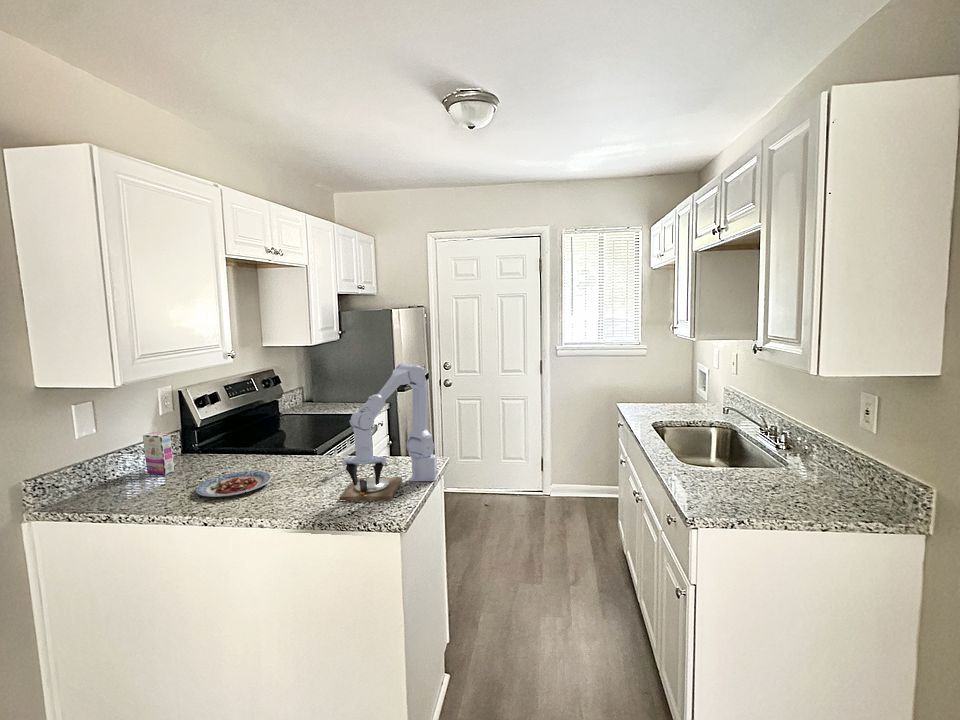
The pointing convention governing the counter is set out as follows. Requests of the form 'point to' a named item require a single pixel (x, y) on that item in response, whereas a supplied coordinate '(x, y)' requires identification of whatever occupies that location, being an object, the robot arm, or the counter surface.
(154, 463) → the candy bar box
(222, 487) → the ceramic plate
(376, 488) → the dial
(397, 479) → the dial board
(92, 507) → the counter surface
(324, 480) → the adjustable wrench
